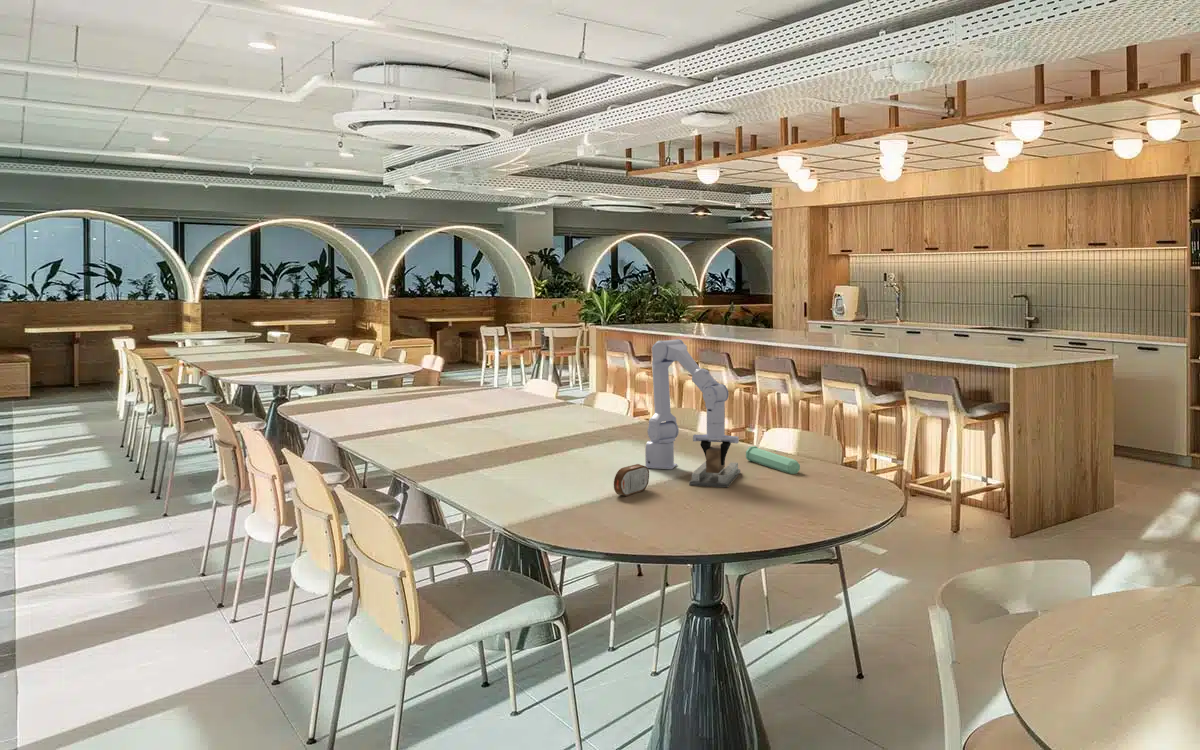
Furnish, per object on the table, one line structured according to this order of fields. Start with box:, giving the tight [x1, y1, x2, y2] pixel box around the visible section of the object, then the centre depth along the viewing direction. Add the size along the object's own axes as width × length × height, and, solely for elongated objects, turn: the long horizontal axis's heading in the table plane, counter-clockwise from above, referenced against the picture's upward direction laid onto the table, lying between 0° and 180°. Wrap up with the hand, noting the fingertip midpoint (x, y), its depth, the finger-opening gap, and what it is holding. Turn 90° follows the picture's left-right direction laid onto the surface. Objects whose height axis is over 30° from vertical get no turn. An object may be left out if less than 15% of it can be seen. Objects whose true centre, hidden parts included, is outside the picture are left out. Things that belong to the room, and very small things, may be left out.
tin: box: [613, 463, 650, 497], centre depth 270 cm, size 15×3×8 cm, turn 141°
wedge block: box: [705, 444, 726, 473], centre depth 288 cm, size 4×10×7 cm, turn 161°
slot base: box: [688, 460, 741, 488], centre depth 288 cm, size 12×22×4 cm, turn 161°
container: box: [745, 445, 801, 475], centre depth 305 cm, size 6×6×25 cm
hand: (715, 464), depth 288 cm, fingers closed on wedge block, 4 cm apart
